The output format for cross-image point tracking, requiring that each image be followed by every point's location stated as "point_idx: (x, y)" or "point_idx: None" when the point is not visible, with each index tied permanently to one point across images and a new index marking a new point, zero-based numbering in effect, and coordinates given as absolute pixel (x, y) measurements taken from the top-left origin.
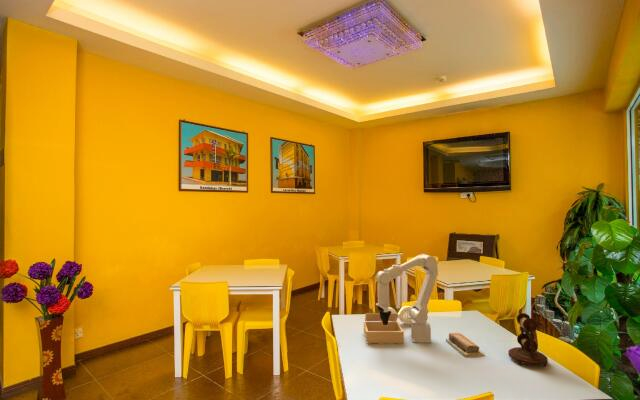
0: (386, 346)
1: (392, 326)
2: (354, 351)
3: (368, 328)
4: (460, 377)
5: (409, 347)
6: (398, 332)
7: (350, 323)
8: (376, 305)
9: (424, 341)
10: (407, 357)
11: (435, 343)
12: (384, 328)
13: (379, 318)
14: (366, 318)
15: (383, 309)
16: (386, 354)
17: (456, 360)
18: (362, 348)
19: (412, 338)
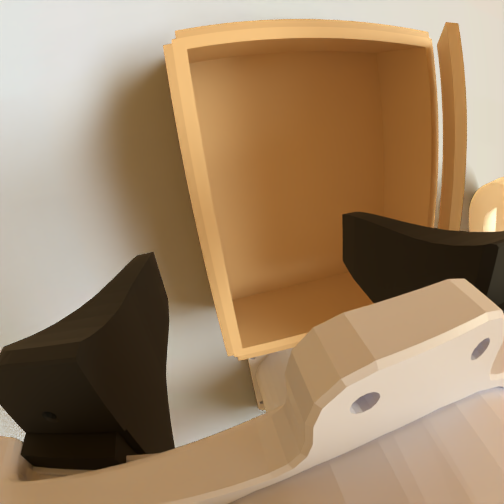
0: (151, 204)
1: None
2: (37, 6)
3: (395, 73)
4: (17, 435)
5: (175, 334)
6: (221, 328)
7: (482, 3)
8: (301, 349)
9: (255, 391)
10: (49, 322)
11: (252, 416)
12: (398, 196)
13: (445, 183)
14: (441, 50)
15: (101, 459)
16: (35, 214)
17: None
18: (84, 39)
19: (279, 351)
